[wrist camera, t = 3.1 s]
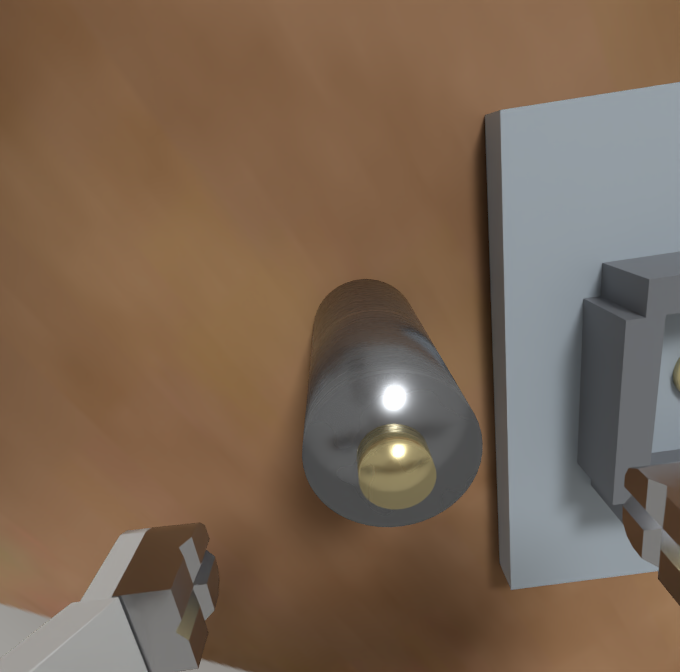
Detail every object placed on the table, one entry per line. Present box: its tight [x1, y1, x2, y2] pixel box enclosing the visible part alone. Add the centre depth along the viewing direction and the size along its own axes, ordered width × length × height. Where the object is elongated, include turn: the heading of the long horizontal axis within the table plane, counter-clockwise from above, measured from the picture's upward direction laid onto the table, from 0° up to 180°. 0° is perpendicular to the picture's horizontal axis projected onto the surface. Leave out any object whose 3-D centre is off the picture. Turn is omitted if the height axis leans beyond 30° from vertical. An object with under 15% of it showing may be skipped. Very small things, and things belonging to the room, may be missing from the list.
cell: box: [302, 279, 483, 527], centre depth 14 cm, size 4×4×9 cm
